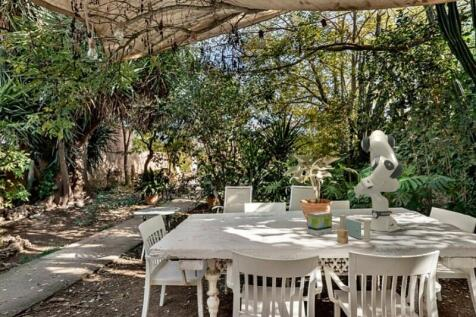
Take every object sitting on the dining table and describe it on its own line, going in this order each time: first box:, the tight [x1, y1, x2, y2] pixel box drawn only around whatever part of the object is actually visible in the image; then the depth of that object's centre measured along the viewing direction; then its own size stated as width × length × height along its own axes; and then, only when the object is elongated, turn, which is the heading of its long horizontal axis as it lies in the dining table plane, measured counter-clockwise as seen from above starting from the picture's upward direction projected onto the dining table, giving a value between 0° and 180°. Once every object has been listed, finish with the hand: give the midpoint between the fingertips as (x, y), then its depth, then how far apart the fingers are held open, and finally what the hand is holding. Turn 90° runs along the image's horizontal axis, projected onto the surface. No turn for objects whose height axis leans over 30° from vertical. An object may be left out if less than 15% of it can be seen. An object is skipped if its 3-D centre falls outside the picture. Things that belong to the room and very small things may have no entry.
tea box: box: [307, 210, 333, 236], centre depth 263 cm, size 15×10×15 cm, turn 126°
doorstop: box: [336, 229, 349, 245], centre depth 234 cm, size 4×5×8 cm
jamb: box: [363, 219, 371, 242], centre depth 240 cm, size 3×3×13 cm
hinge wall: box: [339, 214, 347, 230], centre depth 260 cm, size 3×3×13 cm
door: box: [345, 217, 362, 240], centre depth 250 cm, size 17×3×11 cm, turn 18°
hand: (362, 196), depth 232 cm, fingers open, 8 cm apart
